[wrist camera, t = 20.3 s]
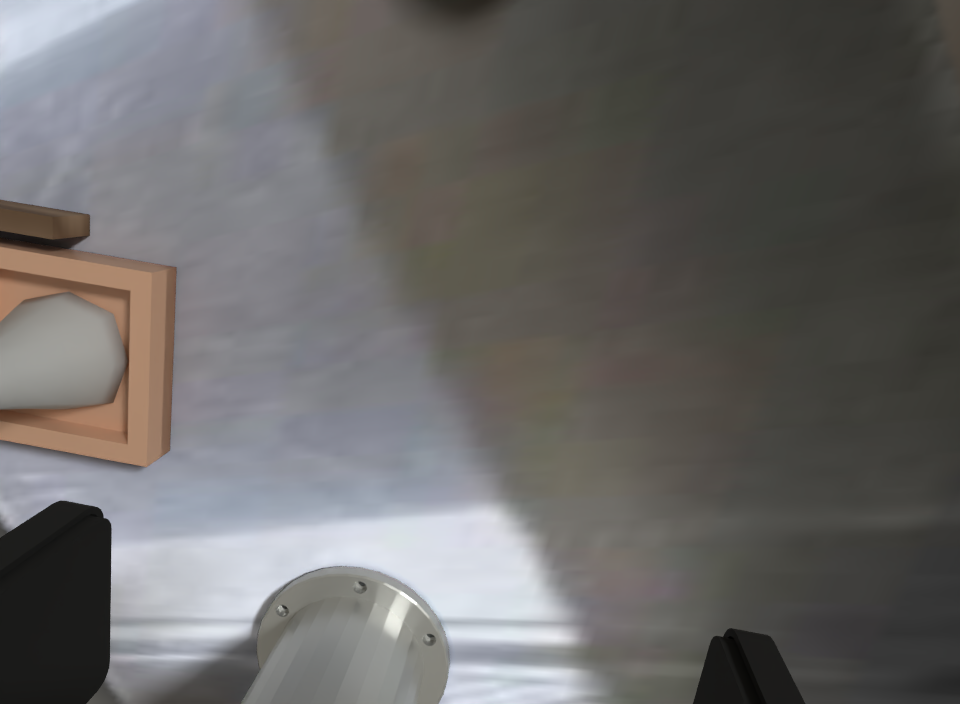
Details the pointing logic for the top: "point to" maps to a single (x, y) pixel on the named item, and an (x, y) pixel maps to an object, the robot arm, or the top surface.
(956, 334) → the top surface
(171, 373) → the tray
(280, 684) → the robot arm
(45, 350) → the flask
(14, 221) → the bay
